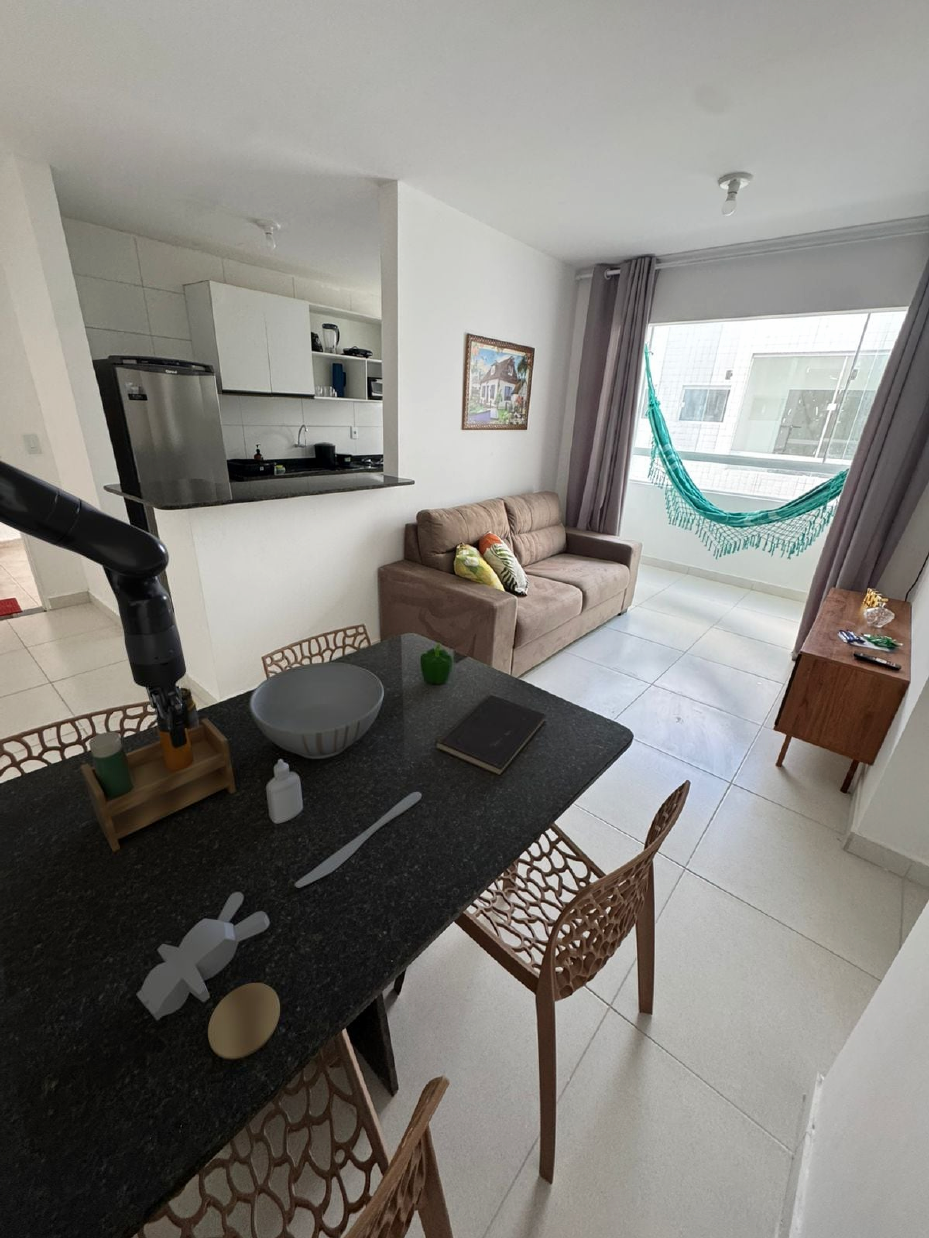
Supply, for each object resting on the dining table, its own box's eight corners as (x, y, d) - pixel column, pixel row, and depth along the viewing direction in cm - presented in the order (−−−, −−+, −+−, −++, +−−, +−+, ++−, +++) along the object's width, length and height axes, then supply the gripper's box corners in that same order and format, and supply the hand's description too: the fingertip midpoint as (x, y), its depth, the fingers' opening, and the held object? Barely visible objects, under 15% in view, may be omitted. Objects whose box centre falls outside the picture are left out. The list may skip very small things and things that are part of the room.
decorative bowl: (343, 798, 96) (340, 746, 91) (227, 763, 103) (218, 712, 98) (404, 721, 119) (404, 676, 114) (305, 696, 126) (301, 653, 122)
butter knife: (427, 797, 96) (415, 788, 98) (302, 893, 77) (291, 881, 79) (426, 799, 96) (415, 791, 98) (302, 896, 77) (291, 883, 79)
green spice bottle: (107, 802, 82) (91, 751, 78) (99, 788, 84) (84, 738, 80) (137, 789, 85) (124, 739, 80) (129, 775, 87) (116, 727, 83)
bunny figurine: (119, 973, 62) (228, 876, 73) (133, 994, 65) (237, 898, 75) (162, 1023, 57) (271, 912, 68) (175, 1044, 60) (279, 933, 71)
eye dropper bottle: (303, 820, 90) (297, 766, 86) (269, 825, 89) (261, 771, 84) (303, 802, 94) (297, 750, 89) (271, 807, 93) (263, 754, 88)
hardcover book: (545, 722, 121) (546, 714, 120) (500, 777, 103) (501, 768, 102) (486, 701, 129) (487, 693, 128) (434, 748, 110) (435, 740, 109)
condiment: (190, 728, 113) (180, 681, 108) (216, 740, 109) (208, 692, 104) (158, 746, 107) (147, 697, 102) (186, 759, 103) (175, 710, 98)
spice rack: (113, 852, 82) (95, 794, 78) (97, 821, 88) (80, 765, 83) (236, 791, 96) (227, 739, 91) (216, 768, 102) (206, 717, 97)
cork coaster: (226, 1077, 57) (225, 1074, 56) (197, 1019, 61) (196, 1017, 61) (292, 1020, 62) (292, 1017, 62) (261, 971, 67) (260, 969, 67)
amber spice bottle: (171, 774, 88) (160, 726, 84) (162, 762, 91) (150, 715, 87) (197, 763, 91) (188, 716, 87) (188, 751, 94) (178, 705, 90)
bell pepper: (439, 692, 131) (440, 657, 127) (414, 681, 135) (414, 648, 131) (457, 678, 138) (459, 645, 134) (433, 669, 142) (434, 637, 138)
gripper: (115, 643, 84) (137, 729, 91) (144, 676, 75) (166, 768, 82) (164, 630, 89) (182, 713, 96) (197, 660, 80) (214, 748, 87)
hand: (174, 738), depth 89 cm, fingers closed on amber spice bottle, 4 cm apart
